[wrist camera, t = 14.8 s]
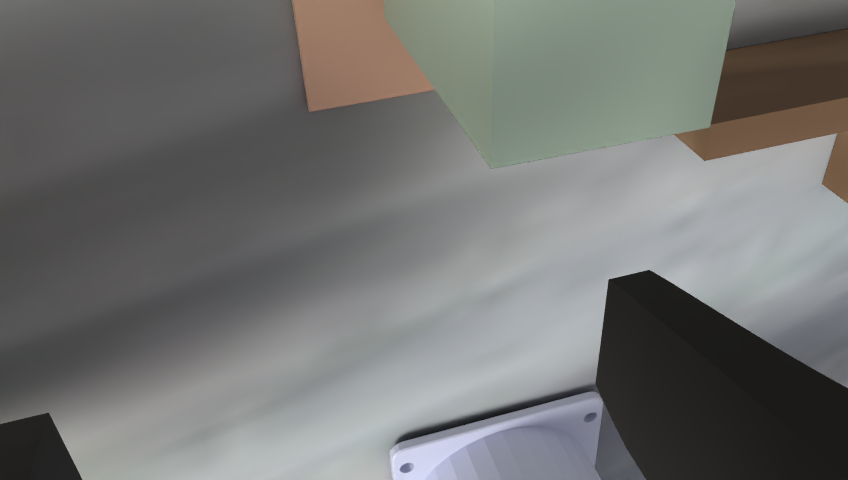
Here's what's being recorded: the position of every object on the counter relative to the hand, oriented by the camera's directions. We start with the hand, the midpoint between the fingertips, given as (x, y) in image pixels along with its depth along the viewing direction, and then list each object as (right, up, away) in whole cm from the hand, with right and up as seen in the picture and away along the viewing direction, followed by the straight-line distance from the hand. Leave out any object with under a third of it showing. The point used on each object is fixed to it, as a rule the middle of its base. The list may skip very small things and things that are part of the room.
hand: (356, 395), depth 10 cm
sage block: (+2, +9, +7) cm, 12 cm away
